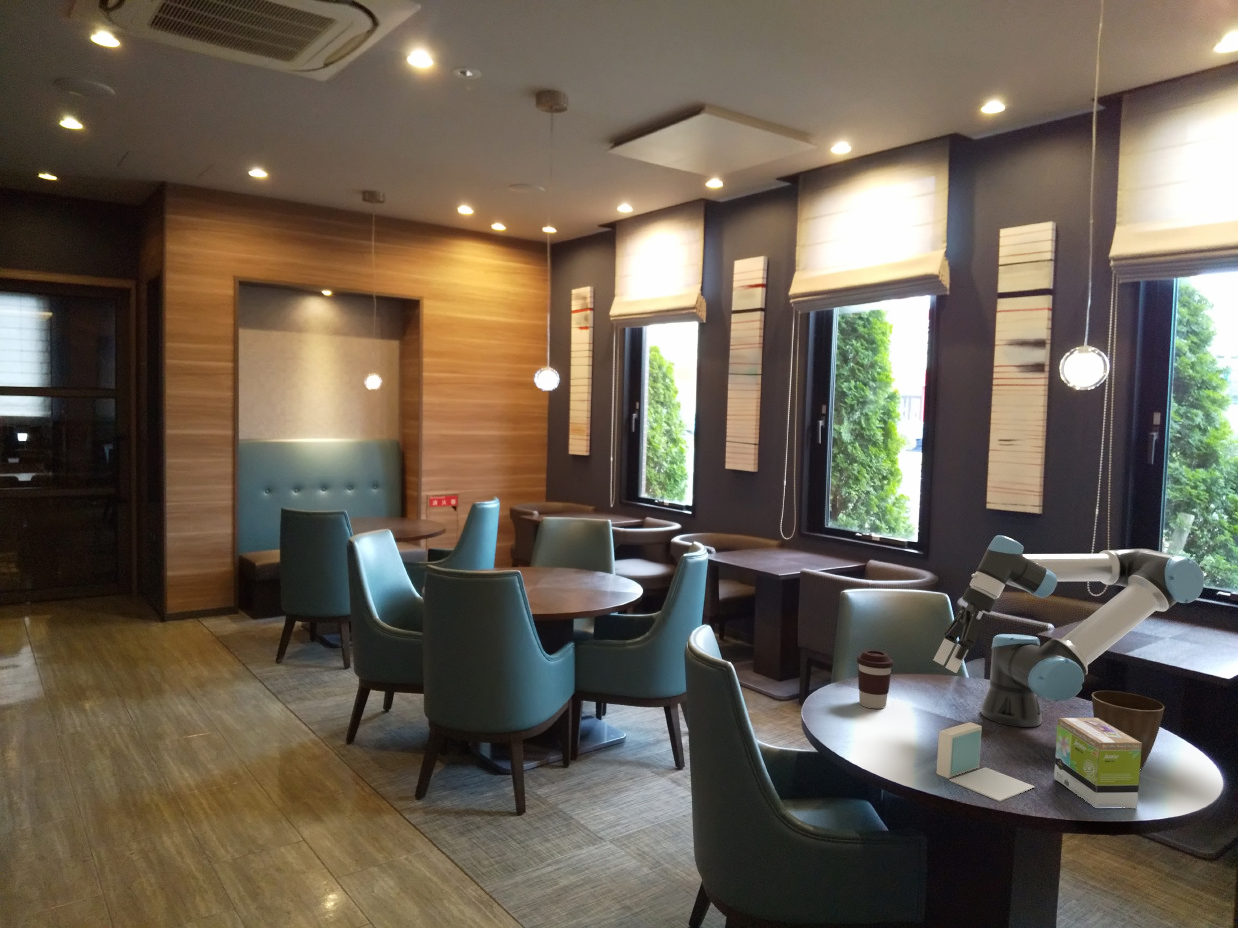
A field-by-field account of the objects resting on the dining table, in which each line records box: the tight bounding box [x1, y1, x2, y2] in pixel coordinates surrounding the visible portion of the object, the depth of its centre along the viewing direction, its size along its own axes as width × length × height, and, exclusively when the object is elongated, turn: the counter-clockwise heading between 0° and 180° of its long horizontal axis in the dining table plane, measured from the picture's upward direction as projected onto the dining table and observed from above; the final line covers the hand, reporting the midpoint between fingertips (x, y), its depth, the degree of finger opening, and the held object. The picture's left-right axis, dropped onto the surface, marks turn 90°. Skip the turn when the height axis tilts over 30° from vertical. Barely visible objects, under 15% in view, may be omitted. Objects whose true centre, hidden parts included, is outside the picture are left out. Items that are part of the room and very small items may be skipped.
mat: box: [948, 766, 1036, 803], centre depth 189 cm, size 14×12×1 cm
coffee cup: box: [856, 649, 894, 710], centre depth 240 cm, size 10×10×15 cm
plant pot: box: [1091, 690, 1165, 770], centre depth 202 cm, size 15×15×16 cm
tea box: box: [1053, 717, 1142, 809], centre depth 185 cm, size 15×10×15 cm
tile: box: [936, 721, 983, 779], centre depth 195 cm, size 12×3×10 cm, turn 124°
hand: (944, 666), depth 216 cm, fingers open, 13 cm apart
